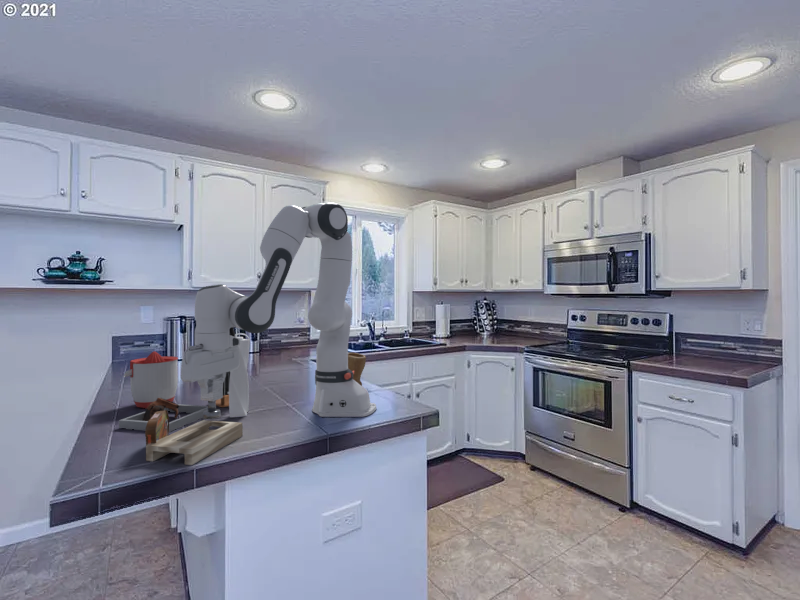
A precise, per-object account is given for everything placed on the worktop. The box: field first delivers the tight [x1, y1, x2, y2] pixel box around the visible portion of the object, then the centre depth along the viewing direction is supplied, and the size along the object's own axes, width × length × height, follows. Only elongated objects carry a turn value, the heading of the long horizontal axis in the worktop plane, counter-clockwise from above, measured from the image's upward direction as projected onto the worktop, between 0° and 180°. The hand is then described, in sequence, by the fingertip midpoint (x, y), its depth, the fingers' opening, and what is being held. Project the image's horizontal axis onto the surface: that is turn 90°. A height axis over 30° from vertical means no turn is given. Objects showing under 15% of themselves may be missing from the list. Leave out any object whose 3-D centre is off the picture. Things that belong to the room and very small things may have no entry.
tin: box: [144, 410, 170, 446], centre depth 104 cm, size 15×3×8 cm, turn 20°
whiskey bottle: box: [216, 327, 236, 408], centre depth 149 cm, size 10×10×32 cm
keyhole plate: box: [145, 419, 244, 466], centre depth 105 cm, size 13×20×4 cm, turn 168°
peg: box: [200, 376, 223, 420], centre depth 110 cm, size 4×4×11 cm
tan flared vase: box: [348, 352, 367, 387], centre depth 174 cm, size 15×12×15 cm
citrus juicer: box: [123, 351, 179, 409], centre depth 147 cm, size 16×17×20 cm
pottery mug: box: [143, 398, 179, 421], centre depth 128 cm, size 12×10×8 cm
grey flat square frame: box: [118, 403, 208, 433], centre depth 128 cm, size 18×19×2 cm
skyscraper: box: [228, 332, 251, 418], centre depth 133 cm, size 8×8×28 cm
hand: (212, 391), depth 110 cm, fingers closed on peg, 4 cm apart
